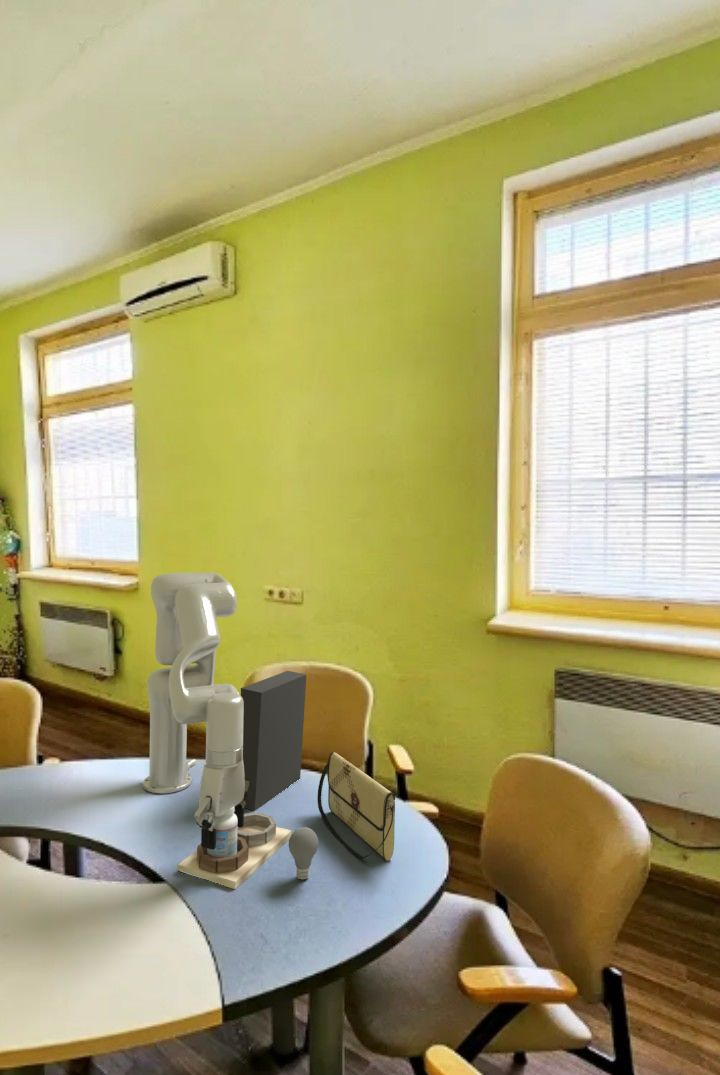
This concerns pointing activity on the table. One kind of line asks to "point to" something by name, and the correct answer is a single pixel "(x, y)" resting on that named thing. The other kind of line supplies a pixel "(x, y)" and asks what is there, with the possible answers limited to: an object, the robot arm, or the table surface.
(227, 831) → the pill bottle
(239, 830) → the holder board
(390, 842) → the clutch purse
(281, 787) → the dark gray upright block
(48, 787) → the table surface
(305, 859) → the light bulb
